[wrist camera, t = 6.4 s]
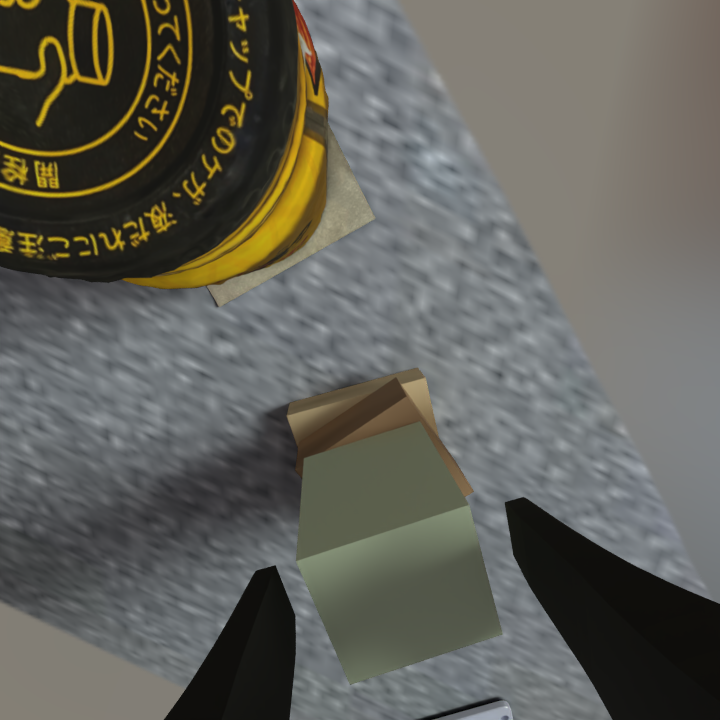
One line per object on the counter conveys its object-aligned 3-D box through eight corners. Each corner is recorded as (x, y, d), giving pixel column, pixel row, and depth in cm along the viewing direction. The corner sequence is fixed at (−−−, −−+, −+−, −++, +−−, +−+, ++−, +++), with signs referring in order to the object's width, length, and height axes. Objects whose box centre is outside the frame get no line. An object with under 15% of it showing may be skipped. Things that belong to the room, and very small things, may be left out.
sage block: (447, 518, 16) (502, 633, 11) (340, 552, 16) (349, 684, 11) (419, 420, 15) (469, 505, 10) (303, 458, 14) (295, 561, 10)
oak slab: (438, 470, 20) (451, 496, 18) (326, 501, 20) (326, 531, 18) (414, 362, 19) (425, 377, 16) (291, 396, 18) (286, 415, 16)
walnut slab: (456, 462, 18) (473, 491, 16) (364, 521, 18) (369, 556, 16) (396, 377, 16) (406, 396, 14) (298, 442, 17) (295, 470, 15)
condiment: (220, 306, 16) (-24, 448, 5) (83, 97, 14) (-1056, -610, 2) (375, 219, 16) (510, 146, 4) (261, -12, 14) (-94, -1480, 2)
